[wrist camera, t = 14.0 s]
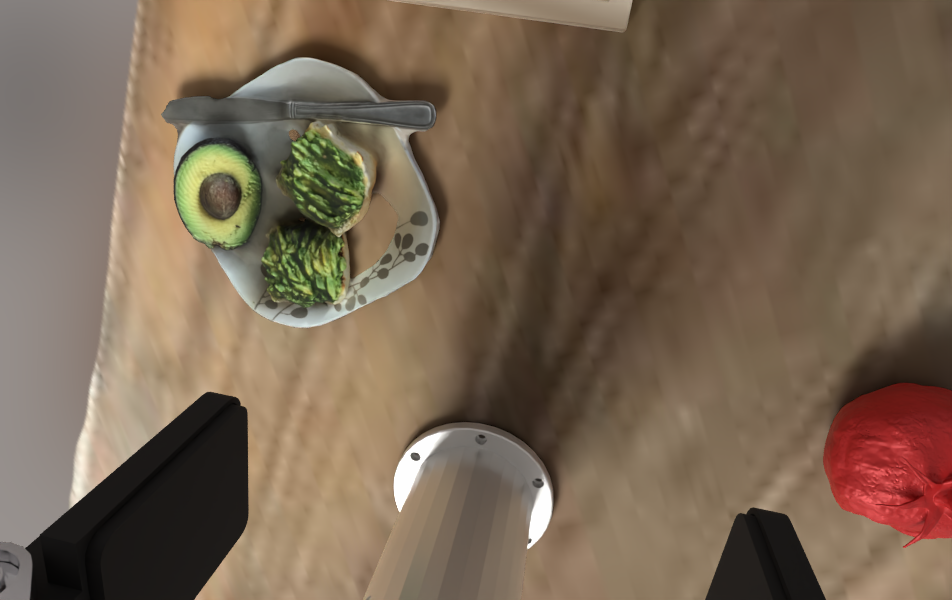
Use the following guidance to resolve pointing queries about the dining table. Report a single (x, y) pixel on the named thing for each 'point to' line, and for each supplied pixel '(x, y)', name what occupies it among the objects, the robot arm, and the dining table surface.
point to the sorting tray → (547, 10)
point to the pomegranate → (895, 459)
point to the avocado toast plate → (302, 187)
